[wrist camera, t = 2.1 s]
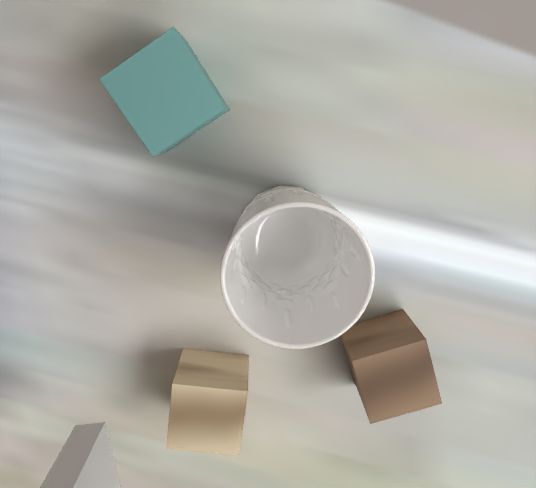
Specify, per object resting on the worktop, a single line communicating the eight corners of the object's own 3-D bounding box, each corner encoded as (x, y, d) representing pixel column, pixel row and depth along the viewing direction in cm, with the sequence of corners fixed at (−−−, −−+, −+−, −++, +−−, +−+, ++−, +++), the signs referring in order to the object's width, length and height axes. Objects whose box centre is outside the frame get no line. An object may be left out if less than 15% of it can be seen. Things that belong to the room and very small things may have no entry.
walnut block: (417, 365, 37) (442, 403, 32) (355, 383, 37) (370, 423, 32) (402, 308, 36) (425, 339, 31) (338, 328, 36) (351, 361, 31)
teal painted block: (229, 109, 32) (225, 108, 27) (168, 150, 32) (152, 156, 27) (186, 40, 30) (173, 26, 26) (123, 84, 31) (99, 79, 26)
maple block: (240, 411, 38) (238, 455, 33) (177, 405, 37) (166, 448, 32) (248, 354, 36) (247, 391, 31) (183, 347, 36) (172, 383, 31)
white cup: (287, 305, 35) (299, 376, 26) (207, 235, 34) (188, 283, 24) (363, 228, 34) (407, 274, 24) (283, 152, 32) (295, 168, 23)
